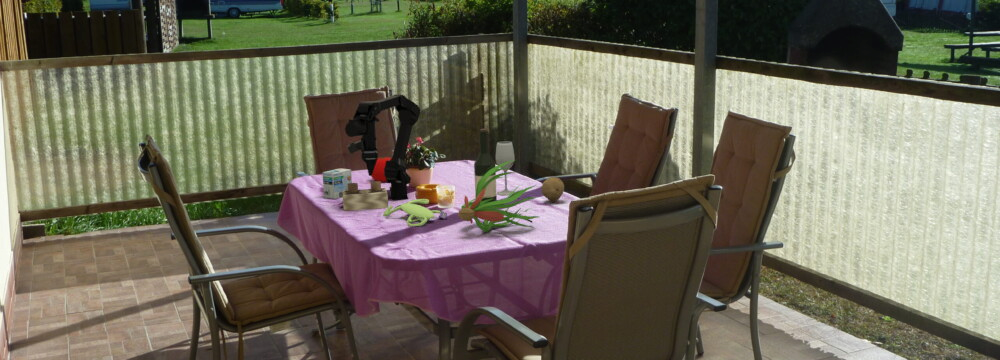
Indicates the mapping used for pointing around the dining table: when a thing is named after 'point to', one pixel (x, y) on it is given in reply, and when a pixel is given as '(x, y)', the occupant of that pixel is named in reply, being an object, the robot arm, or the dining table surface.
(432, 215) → the figurine
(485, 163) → the wine bottle
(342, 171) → the light bulb box
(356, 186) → the peg
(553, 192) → the coconut
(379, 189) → the peg
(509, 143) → the wineglass
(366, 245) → the dining table surface
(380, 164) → the tomato
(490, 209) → the decorative plant
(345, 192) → the birch block
